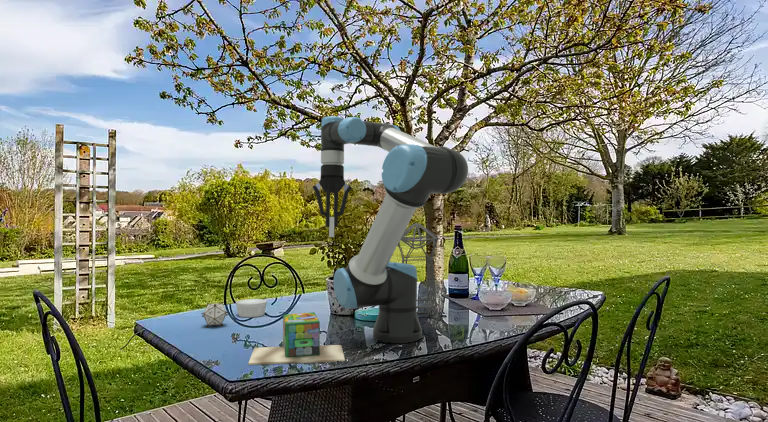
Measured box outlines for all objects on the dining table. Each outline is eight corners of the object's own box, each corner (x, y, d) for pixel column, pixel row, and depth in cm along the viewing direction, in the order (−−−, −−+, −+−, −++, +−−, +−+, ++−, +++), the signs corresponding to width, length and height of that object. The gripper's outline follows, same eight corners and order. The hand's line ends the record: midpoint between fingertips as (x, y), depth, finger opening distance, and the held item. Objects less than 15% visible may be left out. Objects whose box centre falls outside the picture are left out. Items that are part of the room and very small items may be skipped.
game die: (217, 338, 160) (217, 318, 154) (195, 327, 161) (194, 307, 156) (233, 320, 167) (234, 300, 161) (212, 310, 169) (212, 290, 163)
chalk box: (314, 311, 138) (322, 322, 124) (315, 344, 138) (322, 358, 124) (282, 313, 136) (286, 325, 122) (282, 346, 136) (286, 361, 121)
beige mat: (341, 346, 138) (341, 344, 138) (344, 361, 124) (344, 359, 124) (254, 349, 134) (254, 347, 134) (248, 364, 120) (248, 362, 120)
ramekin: (238, 312, 185) (238, 298, 185) (268, 312, 186) (268, 298, 186) (232, 318, 173) (233, 304, 174) (264, 318, 175) (264, 303, 175)
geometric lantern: (441, 320, 174) (440, 223, 174) (397, 321, 174) (396, 224, 174) (436, 311, 190) (434, 222, 190) (396, 311, 190) (394, 222, 189)
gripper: (351, 166, 163) (350, 236, 162) (312, 165, 161) (311, 236, 160) (353, 164, 155) (352, 237, 155) (312, 163, 153) (311, 237, 153)
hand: (331, 236), depth 158 cm, fingers closed
